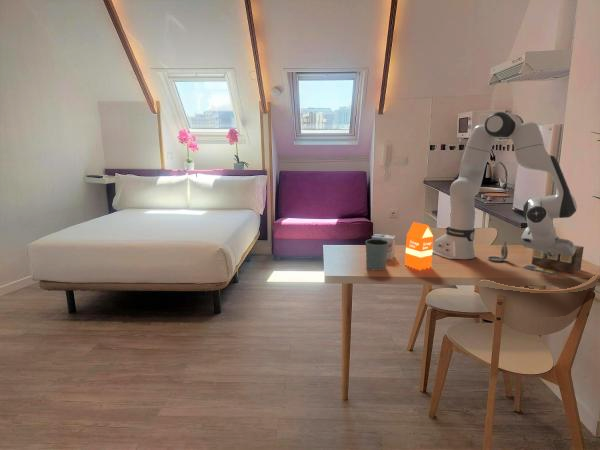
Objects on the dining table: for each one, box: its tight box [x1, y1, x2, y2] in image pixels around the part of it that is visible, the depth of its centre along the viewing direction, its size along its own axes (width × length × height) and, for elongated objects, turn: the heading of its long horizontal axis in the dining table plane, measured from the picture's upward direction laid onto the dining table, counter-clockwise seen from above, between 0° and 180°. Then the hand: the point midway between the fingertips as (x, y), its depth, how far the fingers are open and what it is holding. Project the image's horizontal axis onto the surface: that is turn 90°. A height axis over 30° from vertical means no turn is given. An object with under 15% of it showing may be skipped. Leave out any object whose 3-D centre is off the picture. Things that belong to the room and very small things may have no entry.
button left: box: [531, 249, 547, 259], centre depth 186 cm, size 4×7×4 cm, turn 128°
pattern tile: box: [522, 264, 558, 276], centre depth 181 cm, size 12×5×1 cm, turn 38°
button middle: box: [547, 253, 560, 260], centre depth 183 cm, size 4×7×4 cm, turn 128°
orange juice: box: [404, 221, 434, 271], centre depth 184 cm, size 8×9×20 cm
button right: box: [560, 254, 573, 263], centre depth 179 cm, size 4×7×4 cm, turn 128°
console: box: [531, 244, 585, 274], centre depth 185 cm, size 17×8×10 cm, turn 38°
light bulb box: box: [371, 233, 396, 261], centre depth 200 cm, size 11×7×11 cm, turn 68°
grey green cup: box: [365, 238, 388, 271], centre depth 184 cm, size 10×10×12 cm
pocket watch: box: [487, 240, 508, 263], centre depth 194 cm, size 8×8×10 cm
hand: (551, 254), depth 181 cm, fingers closed
